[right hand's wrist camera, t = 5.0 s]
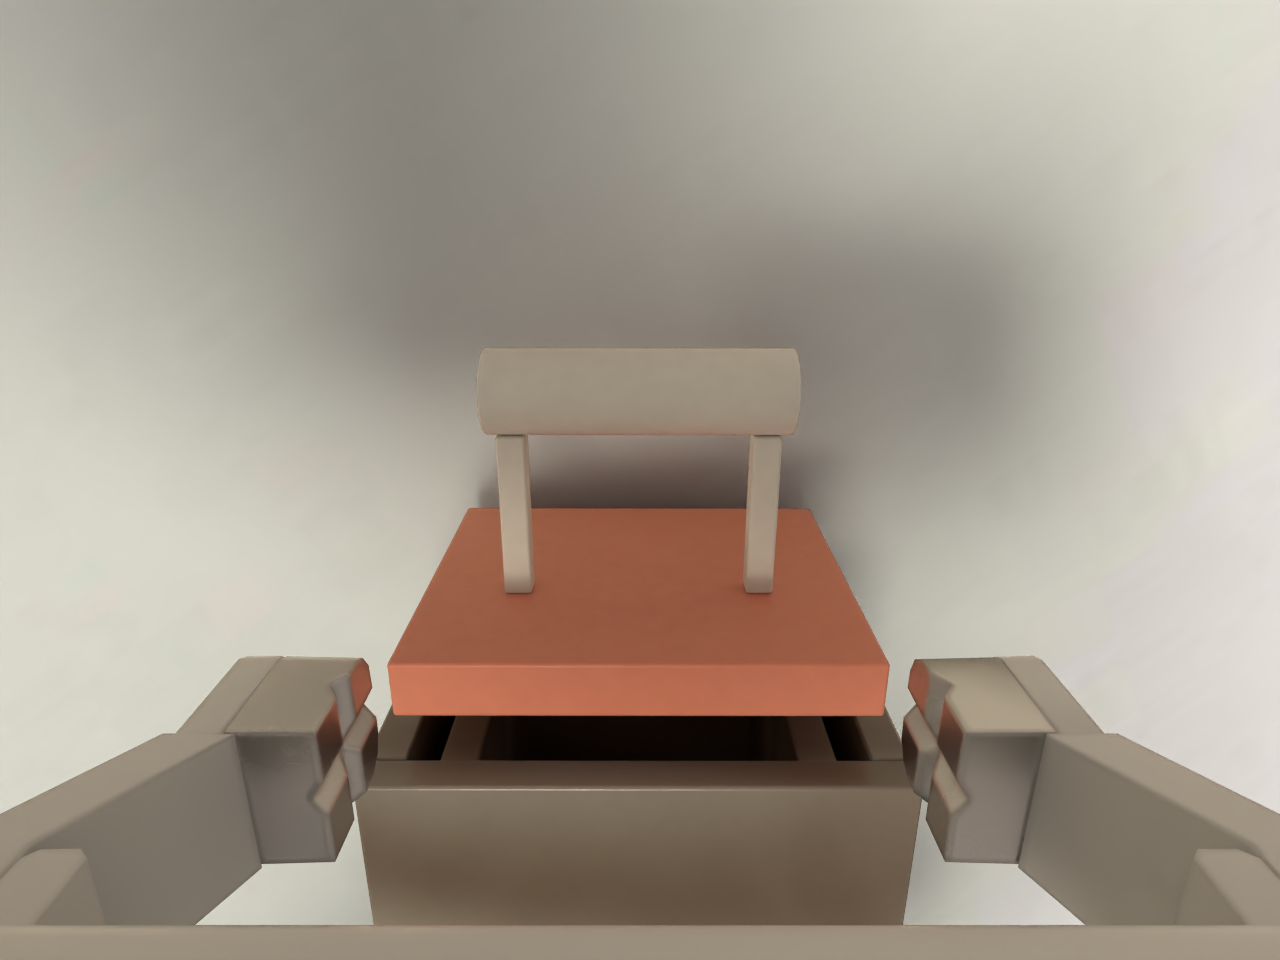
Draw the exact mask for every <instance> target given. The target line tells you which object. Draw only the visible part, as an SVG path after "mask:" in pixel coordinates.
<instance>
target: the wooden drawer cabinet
mask: <svg viewBox="0 0 1280 960" xmlns="http://www.w3.org/2000/svg"><path fill="white" fill-rule="evenodd" d="M454 719H455V716H403V715H394V713H393V706H391V708H390V710H389V712H388V714H387V716H386V718H385V721H384V723H383V725H382V727H381V729H380V731H379V733H378V755H377V760H376V765H375V770H374V775H373V778H372V780H371V782H370V785H369V787H368V790H367V792H366V793H365V794H364V795H362V796H361V797H359V798H358V799H357V800H355V802H356V809H357V816H358V822H359V829H360V836H361V842H362V849H363V856H364V862H365V869H366V876H367V883H368V889H369V896H370V903H371V909H372V916H373V923H374V925H903V919H904V913H905V906H906V900H907V893H908V886H909V880H910V873H911V867H912V860H913V853H914V847H915V840H916V834H917V827H918V820H919V814H920V807H921V801H922V798H921V797H919V796H918V795H917V794H915V793H914V792H913V789H912V787H911V785H910V782H909V780H908V778H907V774H906V770H905V766H904V762H903V751H902V742H901V739H900V737H899V735H898V733H897V731H896V729H895V727H894V724H893V722H892V720H891V718H890V716H889V714H888V712H887V709H886V707H885V706H884V713H883V715H882V716H822V719H823V722H824V725H825V728H826V731H827V734H828V737H829V740H830V743H831V746H832V749H833V752H834V755H835V758H836V761H500V760H441V757H442V754H443V751H444V748H445V745H446V742H447V740H448V737H449V734H450V731H451V728H452V725H453V722H454Z"/></svg>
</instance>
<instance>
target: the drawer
mask: <svg viewBox="0 0 1280 960" xmlns="http://www.w3.org/2000/svg"><path fill="white" fill-rule="evenodd" d="M477 405H478V414H479V420H480V424H481V427H482V430H483V432H484V433H485V434H488V435H497V436H496V439H495V441H496V456H497V472H498V488H499V504H500V508H470V509H468V511H467V513H466V515H465V517H464V518H463V520H462V522H461V524H460V526H459V528H458V530H457V532H456V534H455V536H454V538H453V540H452V541H451V543H450V545H449V547H448V549H447V551H446V553H445V555H444V557H443V559H442V561H441V563H440V565H439V566H438V568H437V570H436V572H435V574H434V576H433V578H432V580H431V582H430V584H429V586H428V588H427V589H426V591H425V593H424V595H423V597H422V599H421V601H420V603H419V605H418V607H417V609H416V611H415V612H414V614H413V616H412V618H411V620H410V622H409V624H408V626H407V628H406V630H405V632H404V634H403V636H402V637H401V639H400V641H399V643H398V645H397V647H396V649H395V651H394V653H393V655H392V657H391V659H390V660H389V662H388V673H389V681H390V689H391V698H392V706H393V713H394V715H403V716H455V719H454V722H453V725H452V728H451V731H450V734H449V737H448V740H447V742H446V745H445V748H444V751H443V754H442V757H441V760H500V761H836V758H835V755H834V752H833V749H832V746H831V743H830V740H829V737H828V734H827V731H826V728H825V725H824V722H823V719H822V716H882V715H883V713H884V706H885V698H886V690H887V682H888V674H889V666H890V665H889V663H888V661H887V659H886V657H885V655H884V653H883V651H882V649H881V647H880V645H879V643H878V641H877V639H876V638H875V636H874V634H873V632H872V630H871V628H870V626H869V624H868V622H867V620H866V618H865V616H864V614H863V612H862V610H861V608H860V607H859V605H858V603H857V601H856V599H855V597H854V595H853V593H852V591H851V589H850V587H849V585H848V583H847V581H846V579H845V577H844V575H843V574H842V572H841V570H840V568H839V566H838V564H837V562H836V560H835V558H834V556H833V554H832V552H831V550H830V548H829V546H828V544H827V543H826V541H825V539H824V537H823V535H822V533H821V531H820V529H819V527H818V525H817V523H816V521H815V519H814V517H813V515H812V513H811V511H810V510H809V509H778V498H779V483H780V467H781V452H782V438H781V436H780V435H792V434H793V433H794V432H795V430H796V427H797V424H798V420H799V414H800V405H801V370H800V362H799V358H798V354H797V352H796V350H795V349H793V348H484V349H483V350H482V351H481V354H480V357H479V362H478V369H477ZM528 435H750V450H749V470H748V490H747V509H628V508H531V492H530V471H529V450H528Z"/></svg>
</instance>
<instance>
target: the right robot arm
mask: <svg viewBox="0 0 1280 960" xmlns="http://www.w3.org/2000/svg"><path fill="white" fill-rule="evenodd" d="M371 689H372V683H371V677H370V672H369V666H368V664H367V663H366V662H365V660H364V659H363V658H333V657H282V656H252V657H245V658H241V659H239V660H238V661H237V662H236V663H235V664H234V665H233V667H232V668H231V669H230V670H229V671H228V672H227V674H226V675H225V676H224V677H223V678H222V679H221V681H220V682H219V683H218V684H217V685H216V687H215V688H214V689H213V690H212V691H211V692H210V694H209V695H208V696H207V697H206V698H205V700H204V701H203V702H202V703H201V704H200V705H199V707H198V708H197V709H196V710H195V711H194V713H193V714H192V715H191V716H190V717H189V718H188V720H187V721H186V722H185V723H184V724H183V726H182V727H181V728H180V729H179V730H178V731H177V733H176V734H161V735H159V736H157V737H155V738H153V739H151V740H149V741H147V742H145V743H143V744H141V745H139V746H137V747H135V748H133V749H131V750H129V751H127V752H125V753H123V754H121V755H119V756H117V757H115V758H113V759H111V760H109V761H107V762H105V763H103V764H101V765H99V766H97V767H95V768H93V769H90V770H88V771H86V772H84V773H82V774H80V775H78V776H76V777H74V778H72V779H70V780H68V781H66V782H64V783H62V784H60V785H58V786H56V787H54V788H52V789H50V790H48V791H46V792H44V793H42V794H40V795H38V796H36V797H34V798H32V799H30V800H28V801H26V802H24V803H22V804H20V805H18V806H16V807H14V808H12V809H10V810H8V811H6V812H4V813H2V814H0V960H1280V814H1278V813H1276V812H1274V811H1272V810H1270V809H1268V808H1266V807H1264V806H1262V805H1260V804H1258V803H1256V802H1254V801H1252V800H1250V799H1248V798H1246V797H1244V796H1242V795H1240V794H1238V793H1236V792H1234V791H1232V790H1230V789H1228V788H1226V787H1224V786H1222V785H1220V784H1218V783H1216V782H1214V781H1212V780H1210V779H1208V778H1206V777H1204V776H1202V775H1200V774H1197V773H1195V772H1193V771H1191V770H1189V769H1187V768H1185V767H1183V766H1181V765H1179V764H1177V763H1175V762H1173V761H1171V760H1169V759H1167V758H1165V757H1163V756H1161V755H1159V754H1157V753H1155V752H1153V751H1151V750H1149V749H1147V748H1145V747H1143V746H1141V745H1139V744H1137V743H1135V742H1133V741H1131V740H1129V739H1127V738H1125V737H1123V736H1121V735H1119V734H1104V732H1103V731H1102V730H1101V729H1100V728H1099V727H1098V725H1097V724H1096V723H1095V722H1094V721H1093V720H1092V718H1091V717H1090V716H1089V715H1088V714H1087V712H1086V711H1085V710H1084V709H1083V708H1082V707H1081V705H1080V704H1079V703H1078V702H1077V701H1076V700H1075V698H1074V697H1073V696H1072V695H1071V694H1070V692H1069V691H1068V690H1067V689H1066V688H1065V687H1064V685H1063V684H1062V683H1061V682H1060V681H1059V679H1058V678H1057V677H1056V676H1055V675H1054V674H1053V672H1052V671H1051V670H1050V669H1049V668H1048V667H1047V665H1046V664H1045V663H1044V662H1043V661H1042V660H1041V659H1039V658H1037V657H1034V656H1012V657H993V658H953V659H915V660H914V663H913V665H912V668H911V670H910V676H909V683H908V689H909V691H910V693H911V695H912V697H913V699H914V700H915V702H916V705H915V706H914V707H913V708H912V709H911V710H910V711H909V712H908V713H907V714H906V715H905V716H904V721H903V731H902V751H903V762H904V766H905V770H906V774H907V778H908V780H909V782H910V785H911V787H912V789H913V792H914V793H915V794H917V795H918V796H919V797H921V798H922V799H924V800H925V801H926V802H928V807H927V814H926V821H927V823H928V825H929V827H930V830H931V832H932V834H933V836H934V838H935V841H936V843H937V845H938V847H939V849H940V852H941V854H942V856H943V858H944V860H945V862H969V863H1005V864H1019V865H1018V868H1020V869H1021V870H1022V871H1023V872H1024V873H1025V874H1027V875H1028V876H1029V877H1030V878H1031V879H1032V880H1034V881H1035V882H1036V883H1037V884H1038V885H1039V886H1041V887H1042V888H1043V889H1044V890H1045V891H1046V892H1048V893H1049V894H1050V895H1051V896H1052V897H1053V898H1055V899H1056V900H1057V901H1058V902H1059V903H1060V904H1062V905H1063V906H1064V907H1065V908H1066V909H1067V910H1069V911H1070V912H1071V913H1072V914H1073V915H1075V916H1076V917H1077V918H1078V919H1079V920H1080V921H1082V922H1083V923H1084V924H1085V925H195V924H197V923H198V922H199V921H200V920H201V919H202V918H204V917H205V916H206V915H207V914H208V913H209V912H211V911H212V910H213V909H214V908H215V907H216V906H218V905H219V904H220V903H221V902H222V901H223V900H225V899H226V898H227V897H228V896H229V895H230V894H232V893H233V892H234V891H235V890H236V889H238V888H239V887H240V886H241V885H242V884H243V883H245V882H246V881H247V880H248V879H249V878H250V877H252V876H253V875H254V874H255V873H256V872H257V871H259V870H260V869H261V868H262V865H261V864H275V863H310V862H335V861H336V859H337V856H338V854H339V852H340V850H341V848H342V845H343V843H344V841H345V839H346V837H347V834H348V832H349V830H350V828H351V826H352V823H353V821H354V814H353V807H352V802H354V801H355V800H357V799H358V798H359V797H361V796H362V795H364V794H365V793H366V792H367V790H368V787H369V785H370V782H371V780H372V778H373V775H374V770H375V765H376V760H377V755H378V728H377V719H376V716H375V715H374V714H373V713H372V712H371V711H370V710H369V709H368V708H367V707H366V706H365V705H364V703H365V701H366V699H367V697H368V695H369V693H370V691H371Z"/></svg>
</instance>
